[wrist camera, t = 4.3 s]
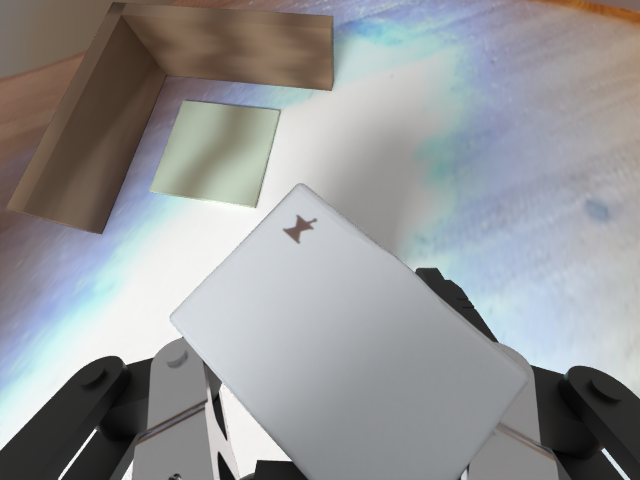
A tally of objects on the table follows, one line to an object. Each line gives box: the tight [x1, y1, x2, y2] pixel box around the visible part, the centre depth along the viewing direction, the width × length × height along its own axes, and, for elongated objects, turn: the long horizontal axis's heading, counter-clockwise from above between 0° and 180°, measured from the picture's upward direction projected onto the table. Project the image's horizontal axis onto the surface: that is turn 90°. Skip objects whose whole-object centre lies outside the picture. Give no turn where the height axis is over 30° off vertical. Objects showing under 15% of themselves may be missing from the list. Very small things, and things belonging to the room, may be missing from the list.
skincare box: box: [170, 183, 529, 480], centre depth 10 cm, size 6×4×12 cm
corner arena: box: [6, 2, 334, 234], centre depth 18 cm, size 17×17×5 cm
